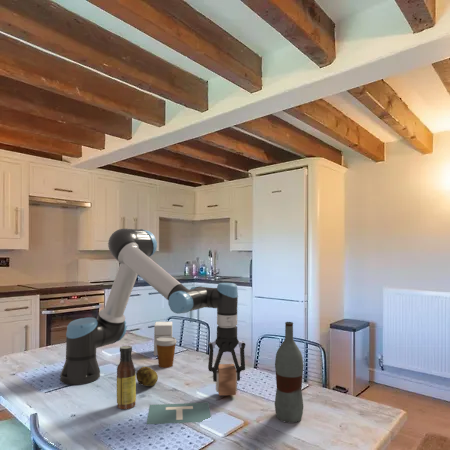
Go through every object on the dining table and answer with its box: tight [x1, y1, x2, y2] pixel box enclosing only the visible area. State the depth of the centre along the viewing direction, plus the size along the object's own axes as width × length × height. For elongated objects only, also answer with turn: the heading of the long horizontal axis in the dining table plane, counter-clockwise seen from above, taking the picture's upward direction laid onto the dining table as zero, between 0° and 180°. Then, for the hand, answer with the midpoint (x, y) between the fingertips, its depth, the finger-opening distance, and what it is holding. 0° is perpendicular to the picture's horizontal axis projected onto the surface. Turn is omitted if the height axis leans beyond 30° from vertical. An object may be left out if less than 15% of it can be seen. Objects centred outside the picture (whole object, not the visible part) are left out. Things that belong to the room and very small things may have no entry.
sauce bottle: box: [116, 345, 137, 410], centre depth 127 cm, size 7×6×20 cm
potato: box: [136, 366, 159, 387], centre depth 146 cm, size 8×13×8 cm, turn 156°
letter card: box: [146, 402, 212, 425], centre depth 122 cm, size 20×14×1 cm
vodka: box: [274, 321, 304, 423], centre depth 121 cm, size 9×9×30 cm
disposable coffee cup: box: [156, 336, 178, 369], centre depth 170 cm, size 10×10×12 cm
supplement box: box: [153, 321, 173, 357], centre depth 190 cm, size 9×9×15 cm
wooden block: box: [217, 363, 237, 396], centre depth 136 cm, size 6×6×9 cm
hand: (226, 389), depth 136 cm, fingers closed on wooden block, 6 cm apart
